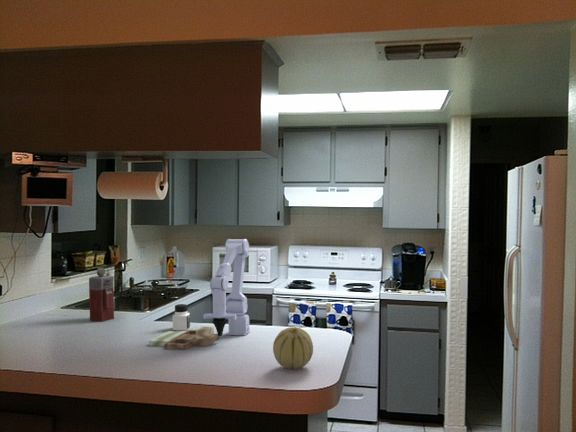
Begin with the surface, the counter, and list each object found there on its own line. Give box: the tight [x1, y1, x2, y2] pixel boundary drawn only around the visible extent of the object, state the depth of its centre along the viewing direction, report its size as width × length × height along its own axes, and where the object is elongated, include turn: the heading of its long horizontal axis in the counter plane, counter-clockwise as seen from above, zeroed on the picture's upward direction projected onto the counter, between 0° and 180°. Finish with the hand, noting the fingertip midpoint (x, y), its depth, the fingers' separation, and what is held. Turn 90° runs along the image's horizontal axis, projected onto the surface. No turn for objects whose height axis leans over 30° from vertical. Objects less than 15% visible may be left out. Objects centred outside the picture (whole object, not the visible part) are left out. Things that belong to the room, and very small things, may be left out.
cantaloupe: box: [272, 326, 314, 370], centre depth 187 cm, size 15×15×15 cm
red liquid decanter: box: [88, 267, 115, 323], centre depth 281 cm, size 9×11×28 cm
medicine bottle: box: [172, 303, 191, 331], centre depth 254 cm, size 7×7×12 cm
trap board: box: [148, 329, 220, 350], centre depth 229 cm, size 26×26×2 cm
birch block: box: [195, 326, 215, 339], centre depth 228 cm, size 6×6×4 cm
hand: (220, 335), depth 226 cm, fingers closed
